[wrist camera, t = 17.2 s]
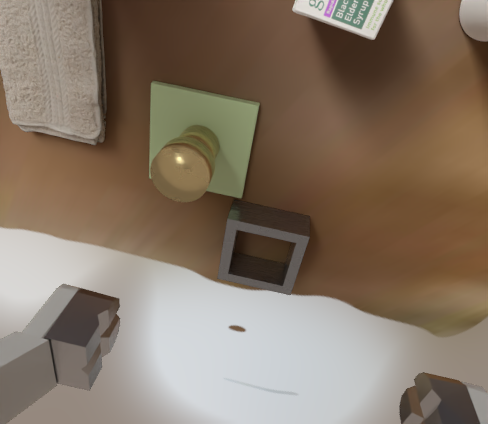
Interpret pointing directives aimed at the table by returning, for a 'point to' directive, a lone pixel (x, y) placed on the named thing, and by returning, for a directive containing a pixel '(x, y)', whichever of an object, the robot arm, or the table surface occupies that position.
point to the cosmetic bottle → (474, 18)
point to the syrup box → (347, 14)
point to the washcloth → (54, 67)
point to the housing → (268, 225)
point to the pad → (213, 117)
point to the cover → (186, 164)
